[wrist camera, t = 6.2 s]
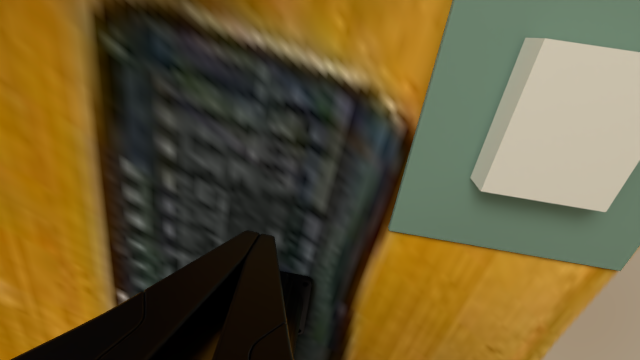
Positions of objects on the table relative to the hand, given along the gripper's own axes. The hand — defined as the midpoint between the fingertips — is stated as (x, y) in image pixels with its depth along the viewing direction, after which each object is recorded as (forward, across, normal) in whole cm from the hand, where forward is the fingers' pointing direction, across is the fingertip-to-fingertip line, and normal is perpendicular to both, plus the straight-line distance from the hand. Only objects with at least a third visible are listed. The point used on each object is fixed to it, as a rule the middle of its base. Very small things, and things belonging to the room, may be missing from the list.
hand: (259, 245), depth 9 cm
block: (+10, -10, -4) cm, 15 cm away
